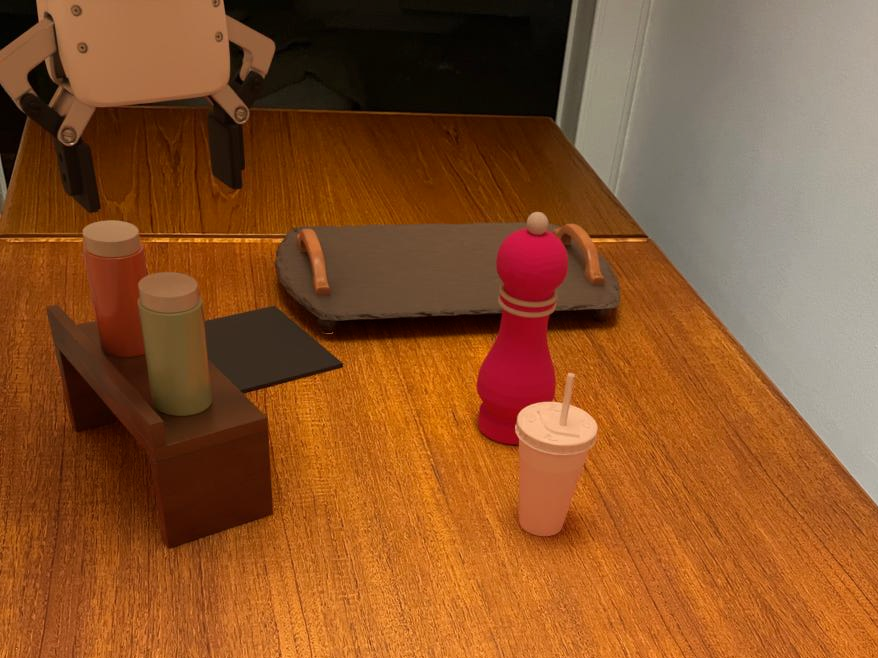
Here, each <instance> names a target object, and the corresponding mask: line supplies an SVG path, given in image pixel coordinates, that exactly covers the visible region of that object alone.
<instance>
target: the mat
mask: <svg viewBox="0 0 878 658" xmlns="http://www.w3.org/2000/svg"><path fill="white" fill-rule="evenodd" d="M204 321H205V331H206V341H207V351H208V360H209V361H210V362H211V363H212V364H213V365H214V366H215V367H216V368H217V369H218V370H219V371H220V372H221V373H222V374H224V375H225V376H226V377H227V378H228V379H229V380H230V381H231V382H232V383H233V384H234V385H235V386H236V387H237V388H238V389H239V390H240V391H241V392H242V393H243V394H245V393H249V392H252V391H256V390H260V389H263V388H267V387H272V386H275V385H279V384H284V383H287V382H291V381H294V380H298V379H302V378H305V376H306V377H309V376H312V374H313V375H317V374H320V372H321V373H323V372H324V371H325V372H328V371H333V370H335V369H340V368H343V367H344V363H343V362H342V361H341V360H340V359H339V358H337V357H336V356H335V355H334V354H333V353H332V352H330V351H329V350H328V349H327V348H326V347H324V346H323V344H321V343H320V342H318V340H316V339H315V338H314V337H313V336H311V334H309V333H308V332H306V330H304V329H303V328H302V327H301V326H300V325H298V324H297V323H296V322H295V321H294V320H292V319H291V318H290V317H289V316H287V314H286V313H284V312H283V311H282V310H280V309H279V308H278V307H277V306H276V305H272V306H271V305H270V306H266V307H261V308H256V309H253V310H248V311H243V312H239V313H234V314H230V315H229V314H228V315H225V316H222V317H217V318H212V319H208V320H204ZM325 372H324V373H325ZM316 373H317V374H316ZM308 375H309V376H308ZM301 377H302V378H301ZM297 378H298V379H297Z"/></svg>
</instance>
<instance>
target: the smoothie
mask: <svg viewBox="0 0 878 658" xmlns="http://www.w3.org/2000/svg"><path fill="white" fill-rule="evenodd" d="M575 376H576V374H575V373H573V372H568V373H567V375H566V380H565V387H564V392H563V397H562V398H563V399H562V402H558V401H552V402H541V403H535V404H532V405H529V406H527V407H525V408H524V409H523V410H521V411H520V413H519V414H518V417H517V423H516V426H515V431H516V434H517V436H518V438H519V445H518V523H519V526H520V527H521V529H523V530H524V531H525V532H527V533H528V534H531V535H534V536H537V537H550V536H555V535H556V534H558V533H559V532H560V531H561V530H562V529H563V527H564V524H565V520H566V517H567V515H568V512H569V509H570V506H571V503H572V500H573V497H574V494H575V492H576V489H577V486H578V483H579V479H580V478H581V475H582V471H583V469H584V465H585V463H586V460H587V457H588V454H589V450H591V449H592V448H593V447H594V445H596V443H597V438H598V437H597V434H598V428H599V427H598V423H597V422H596V420H595V419H594V417H593V416H592V415H591V414H589V413H588V412H587V411H585V410H584V409H582V408H580V407H578V406H575V405H572V404H571V400H572V395H573V394H572V393H573V390H574V389H573V387H574V384H575V383H574V382H575Z"/></svg>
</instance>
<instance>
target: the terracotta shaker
mask: <svg viewBox="0 0 878 658" xmlns="http://www.w3.org/2000/svg"><path fill="white" fill-rule="evenodd" d="M82 237H83V245H82V253H83V259H84V265H85V269H86V274H87V275H86V276H87V280H88V281H87V282H88V286H89V292H90V297H91V302H92V308H93V314H94V318H95V320H94V321H96V325H97V331H98V336H99V342H100V347H101V349H102V350H103V351H104V352H106V353H108V354H110V355H113V356H118V357H136V356H141V355H144V354H145V350H144V343H143V336H142V329H141V323H140V316H139V309H138V303H137V302H138V298H139V297H140V296H139V289H138V283H139V281H140V280H141V279H142V278H144V277H145V276H148V275H149V274H148V268H147V260H146V253H145V246H144V244H143V242H142V241H141V238H140V230H139V228H138V227H137V226H136V225H135V224H133V223H131V222H128V221H123V220H115V219H114V220H109V219H108V220H100V221H95V222H92V223H89V224H87V225H86V226H84V227H83V229H82Z"/></svg>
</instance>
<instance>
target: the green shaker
mask: <svg viewBox="0 0 878 658" xmlns="http://www.w3.org/2000/svg"><path fill="white" fill-rule="evenodd" d="M147 275H148V276H145V277H144V278H142V279H141V280H140V281H139V283H138V289H139V296H140V297H139V298H138V302H137V303H138V309H139V316H140V323H141V329H142V336H143V343H144V350H145V356H146V363H147V370H148V377H149V383H150V390H151V397H152V403H153V406H154V407H155V408H156V409H157V410H158V411H160V412H162V413H165V414H168V415H173V416H189V415H194V414H198V413H200V412H203V411H205V410H206V409H207V408H209V406H210V405H211V403H212V390H211V381H210V371H209V361H208V351H207V341H206V331H205V321H206V320H205V314H204V313H205V312H204V303H203V299H202V297H201V295H200V292H199V284H198V281H197V280H196V279H195V278H194V277H192V276H191V275H189V274H186V273H182V272H175V271H161V272H155V273H151V274H147Z"/></svg>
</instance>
